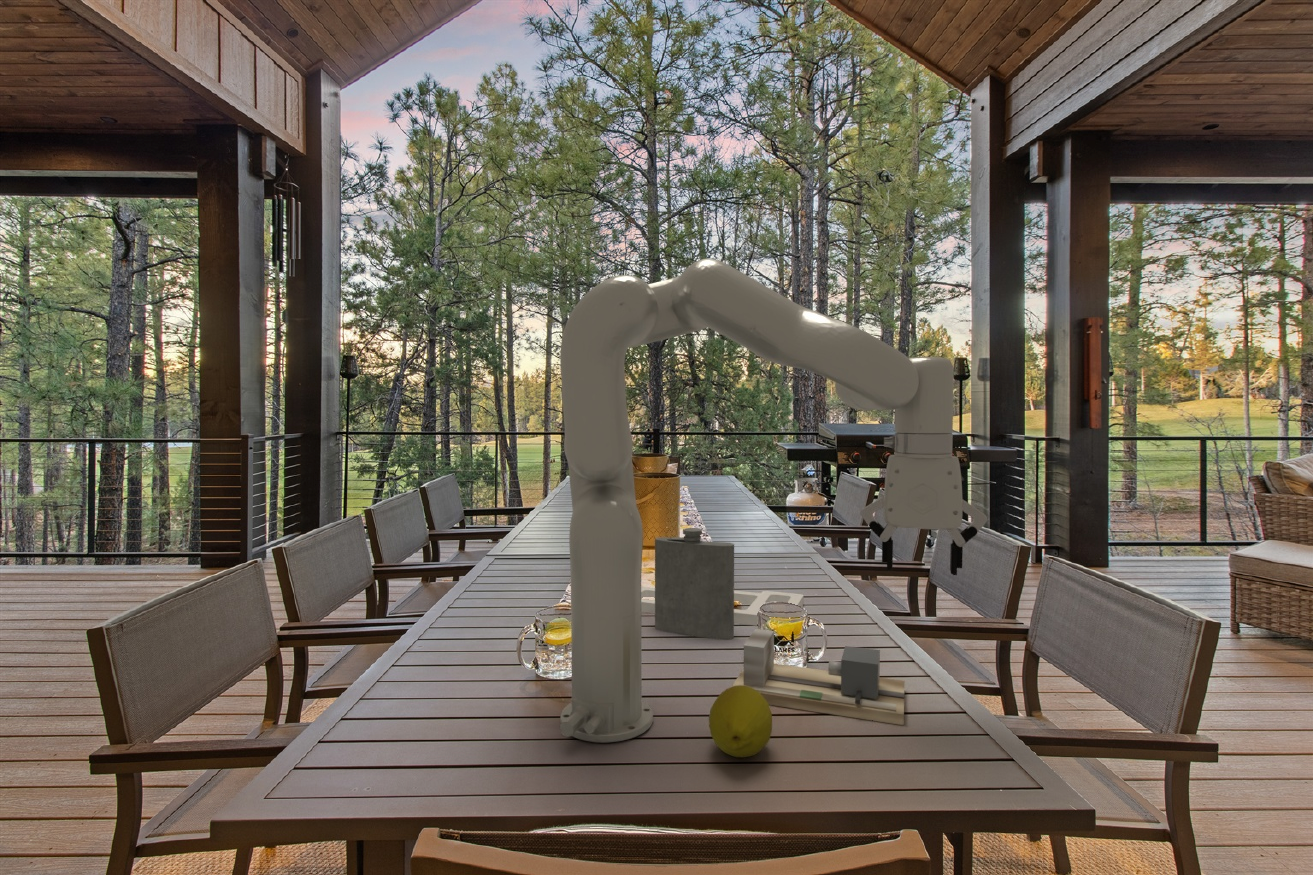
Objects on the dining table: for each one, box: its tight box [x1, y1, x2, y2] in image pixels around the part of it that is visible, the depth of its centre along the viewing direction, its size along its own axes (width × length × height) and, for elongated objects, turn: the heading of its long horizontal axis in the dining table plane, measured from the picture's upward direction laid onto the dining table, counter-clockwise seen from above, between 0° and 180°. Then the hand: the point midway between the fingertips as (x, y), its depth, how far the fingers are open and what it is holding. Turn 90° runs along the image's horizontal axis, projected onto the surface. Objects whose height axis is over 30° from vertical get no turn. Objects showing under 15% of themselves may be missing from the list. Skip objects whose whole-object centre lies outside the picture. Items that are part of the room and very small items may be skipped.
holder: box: [641, 586, 805, 627], centre depth 148 cm, size 45×18×3 cm, turn 69°
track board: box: [731, 628, 906, 726], centre depth 101 cm, size 12×24×8 cm, turn 69°
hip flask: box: [654, 527, 735, 641], centre depth 129 cm, size 16×4×20 cm, turn 65°
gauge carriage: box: [827, 645, 881, 704], centre depth 98 cm, size 9×7×5 cm
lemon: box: [708, 685, 773, 758], centre depth 84 cm, size 11×8×8 cm
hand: (921, 569), depth 96 cm, fingers open, 7 cm apart
